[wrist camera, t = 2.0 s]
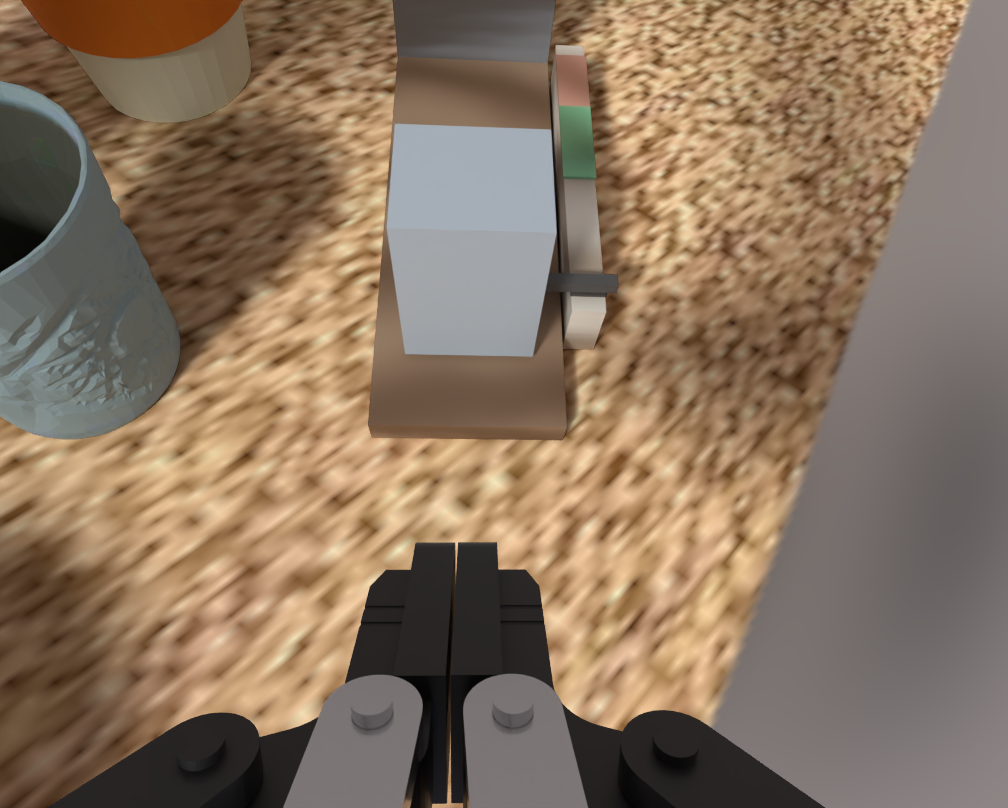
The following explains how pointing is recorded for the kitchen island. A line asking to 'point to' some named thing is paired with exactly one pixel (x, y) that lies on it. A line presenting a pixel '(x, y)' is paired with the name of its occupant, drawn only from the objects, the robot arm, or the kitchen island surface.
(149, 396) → the teal gray cup
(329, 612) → the kitchen island surface
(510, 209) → the block
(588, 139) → the track
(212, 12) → the reusable coffee cup
